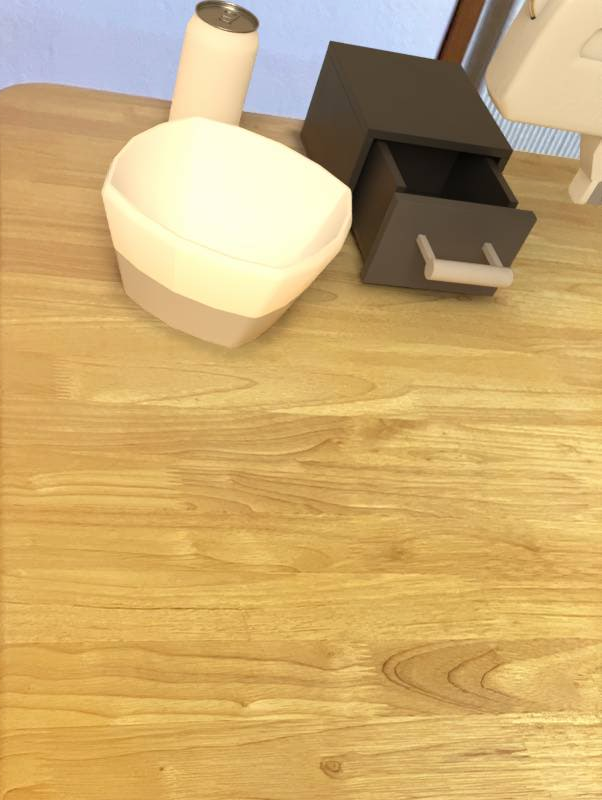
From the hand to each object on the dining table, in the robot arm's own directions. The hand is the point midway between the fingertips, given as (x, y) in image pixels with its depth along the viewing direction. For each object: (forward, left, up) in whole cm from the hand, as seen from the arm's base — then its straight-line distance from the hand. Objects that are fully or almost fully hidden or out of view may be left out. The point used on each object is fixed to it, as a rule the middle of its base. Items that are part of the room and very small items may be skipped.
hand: (590, 201), depth 56 cm
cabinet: (0, -29, -18) cm, 34 cm away
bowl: (+20, -10, -18) cm, 29 cm away
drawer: (0, -17, -17) cm, 24 cm away
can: (+18, -32, -18) cm, 41 cm away
